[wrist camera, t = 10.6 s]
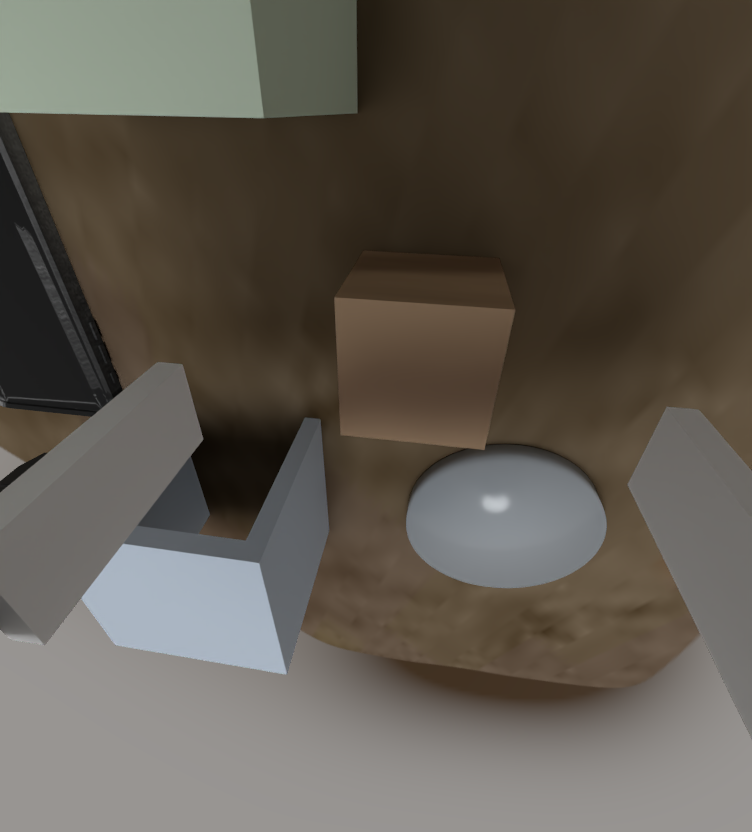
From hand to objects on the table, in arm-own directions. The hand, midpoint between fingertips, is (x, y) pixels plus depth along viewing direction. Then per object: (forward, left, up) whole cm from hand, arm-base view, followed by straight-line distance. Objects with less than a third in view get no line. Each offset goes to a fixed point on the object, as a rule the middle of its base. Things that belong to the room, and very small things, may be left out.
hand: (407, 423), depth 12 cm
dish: (+11, +5, -7) cm, 13 cm away
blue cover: (+10, -9, -7) cm, 15 cm away
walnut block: (0, 0, -7) cm, 7 cm away
